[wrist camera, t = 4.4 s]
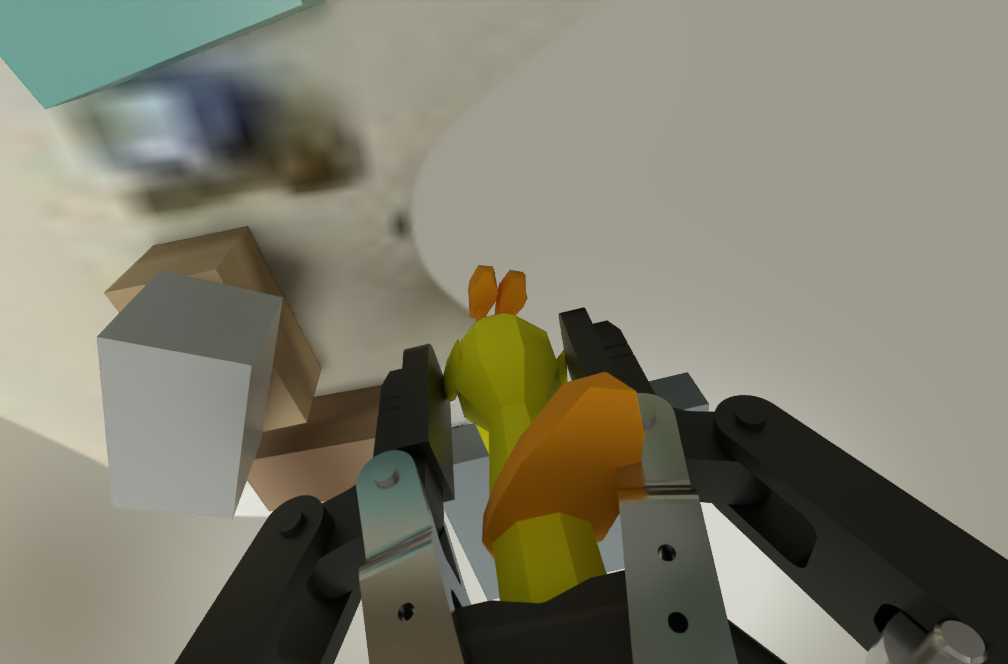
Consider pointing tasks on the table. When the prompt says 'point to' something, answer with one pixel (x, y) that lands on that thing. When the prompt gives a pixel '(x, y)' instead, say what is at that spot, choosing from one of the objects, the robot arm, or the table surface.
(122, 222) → the table surface
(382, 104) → the table surface
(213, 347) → the grey brick
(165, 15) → the teal brick
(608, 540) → the slate stand
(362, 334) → the table surface
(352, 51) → the table surface
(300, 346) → the oak brick
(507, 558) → the toy figure
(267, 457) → the walnut brick
